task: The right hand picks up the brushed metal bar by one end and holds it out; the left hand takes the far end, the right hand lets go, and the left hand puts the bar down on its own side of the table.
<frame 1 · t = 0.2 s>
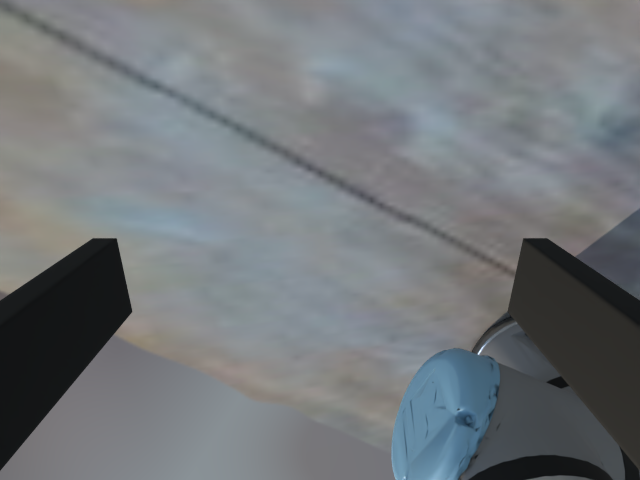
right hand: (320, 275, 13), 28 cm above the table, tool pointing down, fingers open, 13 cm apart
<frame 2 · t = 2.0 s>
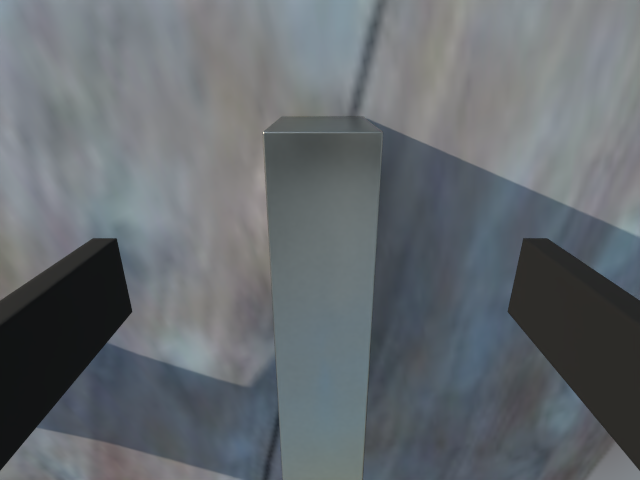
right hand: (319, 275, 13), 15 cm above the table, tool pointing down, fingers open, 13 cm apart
bar: (322, 283, 30), on the table
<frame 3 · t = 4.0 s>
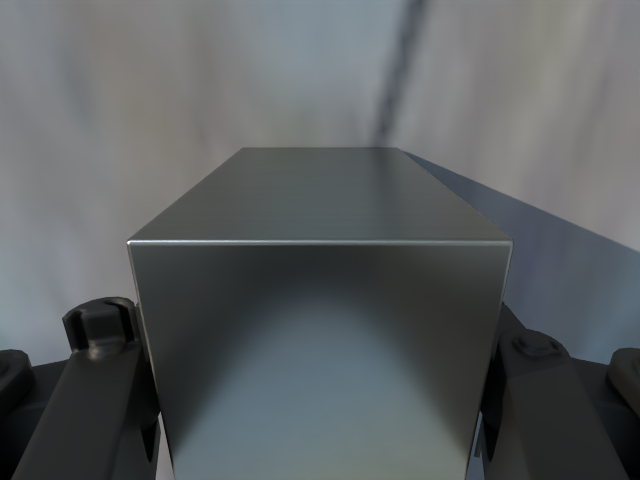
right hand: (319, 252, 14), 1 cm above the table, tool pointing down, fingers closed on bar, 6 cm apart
bar: (320, 417, 18), on the table, touching right hand
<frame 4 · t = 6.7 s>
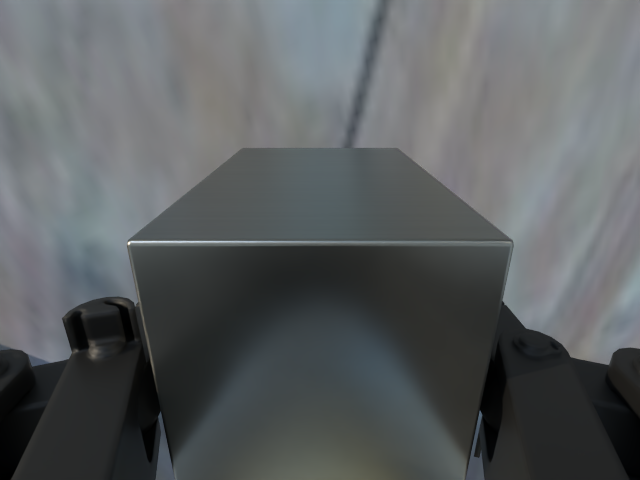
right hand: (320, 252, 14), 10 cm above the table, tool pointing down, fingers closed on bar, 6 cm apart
bar: (320, 417, 18), point 10 cm above the table, touching right hand
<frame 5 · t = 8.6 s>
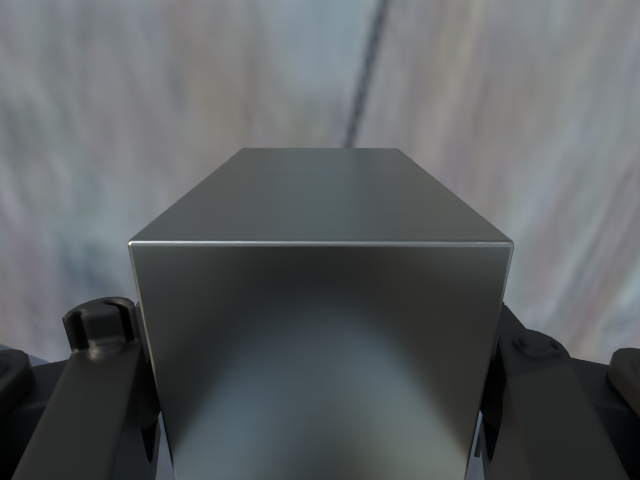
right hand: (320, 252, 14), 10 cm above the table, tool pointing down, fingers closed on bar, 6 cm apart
bar: (319, 417, 18), point 10 cm above the table, touching right hand, left hand
when the right hand's fingers open (10 cm above the table, at t = 9.3 s): bar stays where it is, held by the left hand.
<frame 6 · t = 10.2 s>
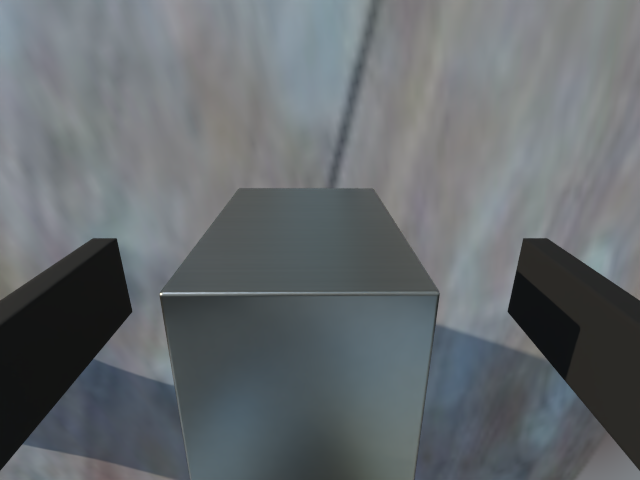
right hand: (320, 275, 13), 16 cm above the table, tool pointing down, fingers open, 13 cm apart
bar: (307, 423, 20), point 12 cm above the table, touching left hand
when the left hand's fingers open (2 cm above the table, at t = 13.2 s): bar stays where it is, on the table.
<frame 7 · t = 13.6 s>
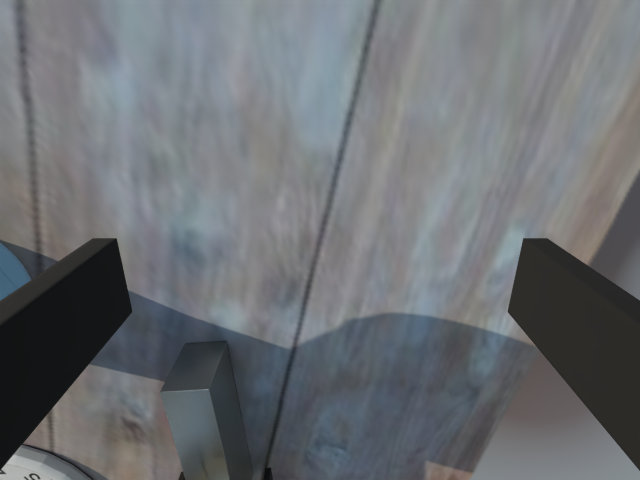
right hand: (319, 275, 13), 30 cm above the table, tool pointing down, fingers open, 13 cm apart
bar: (222, 414, 55), on the table
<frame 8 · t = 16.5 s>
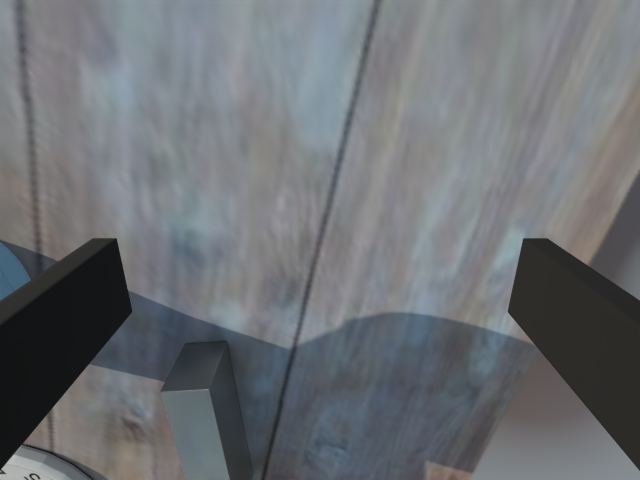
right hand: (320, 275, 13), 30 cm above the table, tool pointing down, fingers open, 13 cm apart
bar: (222, 414, 55), on the table
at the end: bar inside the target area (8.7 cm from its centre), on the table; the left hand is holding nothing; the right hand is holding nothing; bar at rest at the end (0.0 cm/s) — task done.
